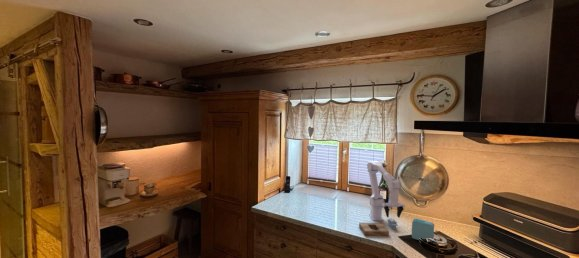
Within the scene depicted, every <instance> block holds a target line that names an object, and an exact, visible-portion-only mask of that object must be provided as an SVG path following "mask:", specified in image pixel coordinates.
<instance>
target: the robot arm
mask: <svg viewBox="0 0 579 258" xmlns="http://www.w3.org/2000/svg"><path fill="white" fill-rule="evenodd" d="M366 165H367V166H366V167H367V168H366V169H367V172H368V175H369V181H370V187H371V195H370V196H369V205H370V212H369V213H370V214H369V215H368V216H369V217H370V218H371V219H372V221H384V219H383V216H382V215H383V209H384V213H385V217H386V218H389V217H390V216H389V215H390V208H389V207H391V208H396V212H397V213H396V217H397V218H401V217H400V216H401V214H402V213H403V211H404V208H405V206H406V205H405V204H404V203H399V195H400V194H399V193H400V189H401V188H402V182H401V181H400V180H398V179H395V178H394V176H393V175H392V174H391V173H390V172H387V170H386V169H385V168H384V167H383V163H382V162H381V161H379V160H378V161H368V162H367V164H366ZM378 172H379V173H380V174H381V175H382V178H383V179H384V181H385V182H386V184H387V186H388V190H389V199H388V202H385V199H384V196H383V195H381V194H380V188H379V182H378V178H377V173H378Z"/></svg>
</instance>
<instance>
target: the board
mask: <svg viewBox="0 0 579 258" xmlns="http://www.w3.org/2000/svg"><path fill="white" fill-rule="evenodd" d="M358 227H359V229H360V231H361V232H362V234H363V235H364V236H365V237H366V236H367V237H390V231H389V229H387V227H386V226H384V224H383V223H382V222H359V225H358Z"/></svg>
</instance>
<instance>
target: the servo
mask: <svg viewBox="0 0 579 258" xmlns="http://www.w3.org/2000/svg"><path fill="white" fill-rule="evenodd" d="M386 220H387V225H388V227H389V228H390V229H391V230H395V229H397V227H398V226H399V225H398V223H397V221H396V220H395V219H394V218H387V219H386Z"/></svg>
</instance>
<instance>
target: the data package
mask: <svg viewBox="0 0 579 258" xmlns="http://www.w3.org/2000/svg"><path fill="white" fill-rule="evenodd" d="M434 235H435V224H434V223H433V222H431V221H428V220H423V219H419V218H413V219H412V222H411V237H412V239H414V240H418V241H420V240H419V238H422V239H426V238H432V239H433V237H434ZM433 240H434V239H433Z"/></svg>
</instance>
